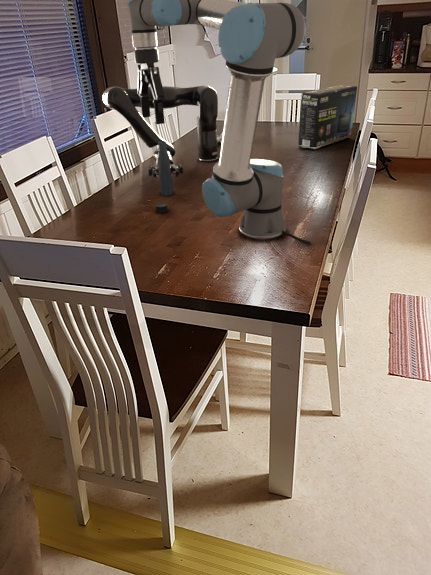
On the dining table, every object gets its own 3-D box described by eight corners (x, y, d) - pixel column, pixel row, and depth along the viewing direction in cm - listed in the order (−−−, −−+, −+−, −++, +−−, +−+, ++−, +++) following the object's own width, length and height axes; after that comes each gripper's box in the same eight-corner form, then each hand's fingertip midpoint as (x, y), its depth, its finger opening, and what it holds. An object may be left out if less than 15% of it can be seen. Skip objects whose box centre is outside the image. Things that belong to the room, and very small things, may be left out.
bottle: (170, 190, 188) (166, 139, 177) (174, 194, 184) (169, 142, 173) (159, 192, 186) (154, 141, 176) (162, 196, 182) (157, 143, 172)
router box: (314, 151, 231) (318, 94, 217) (296, 148, 237) (299, 92, 224) (352, 138, 251) (358, 85, 238) (335, 135, 258) (340, 83, 245)
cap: (154, 212, 168) (153, 206, 167) (159, 208, 171) (158, 202, 170) (164, 213, 167) (164, 207, 166) (169, 209, 170) (168, 203, 169)
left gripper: (147, 156, 195) (147, 166, 181) (180, 153, 196) (183, 164, 183) (149, 173, 199) (149, 185, 185) (182, 171, 200) (184, 182, 186)
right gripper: (171, 49, 133) (177, 125, 144) (144, 46, 152) (151, 113, 163) (147, 51, 130) (155, 128, 141) (122, 47, 150) (131, 115, 161)
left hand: (166, 174), depth 184 cm, fingers open, 8 cm apart
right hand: (153, 120), depth 152 cm, fingers open, 13 cm apart
